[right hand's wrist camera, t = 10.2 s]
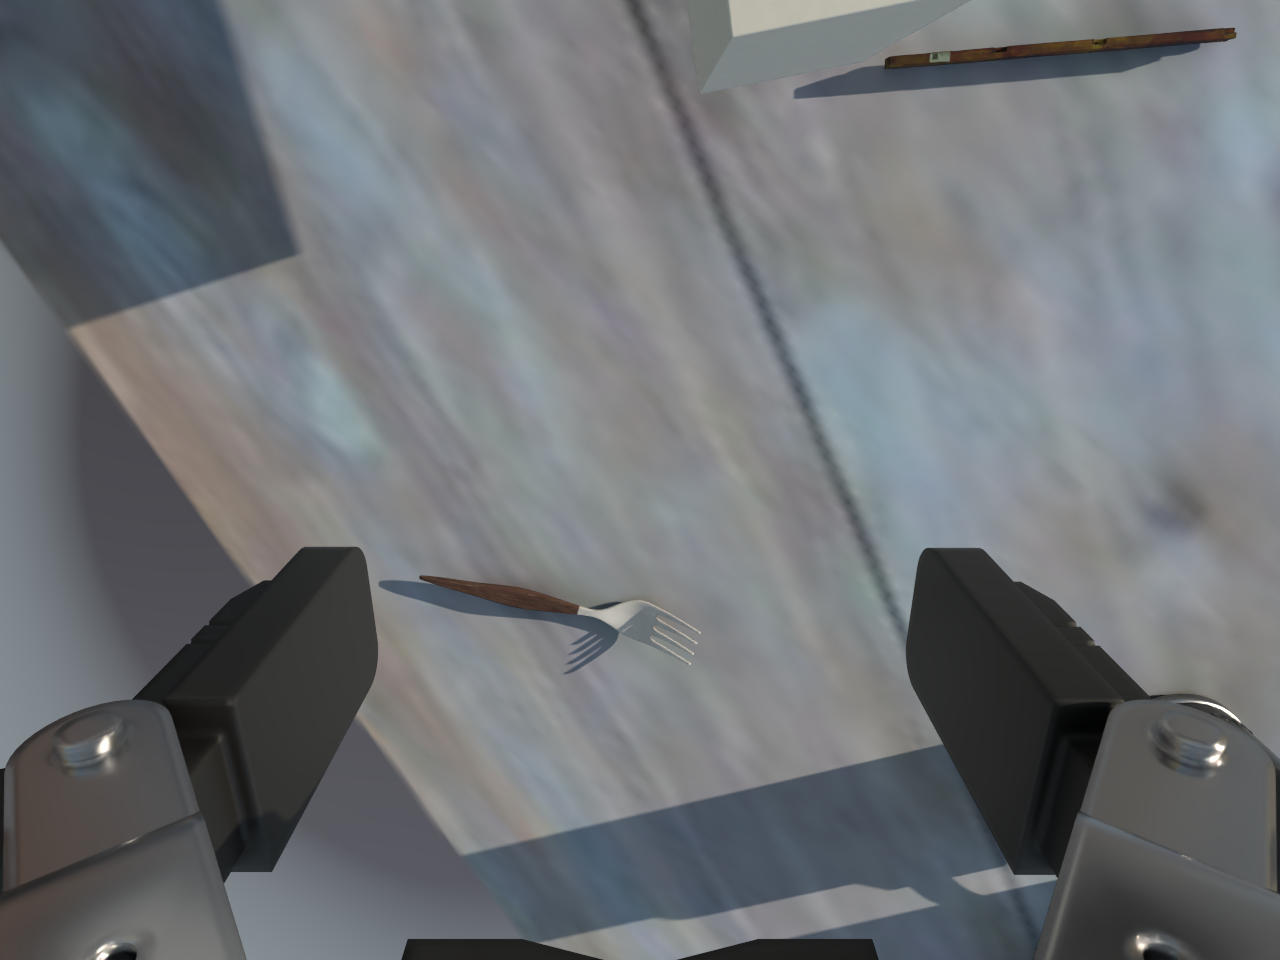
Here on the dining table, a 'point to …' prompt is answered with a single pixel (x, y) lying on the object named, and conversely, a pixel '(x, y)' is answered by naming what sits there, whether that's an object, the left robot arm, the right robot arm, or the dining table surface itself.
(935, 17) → the box
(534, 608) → the fork
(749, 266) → the dining table surface
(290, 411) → the dining table surface
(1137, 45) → the brown thin rod
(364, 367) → the dining table surface
